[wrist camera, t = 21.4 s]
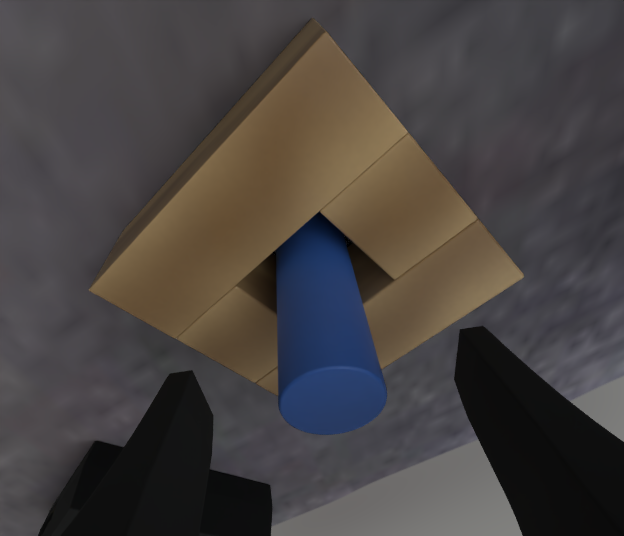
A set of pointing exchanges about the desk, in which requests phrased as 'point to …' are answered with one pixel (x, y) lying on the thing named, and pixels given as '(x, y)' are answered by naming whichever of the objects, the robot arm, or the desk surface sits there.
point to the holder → (303, 220)
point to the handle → (324, 335)
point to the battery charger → (216, 512)
